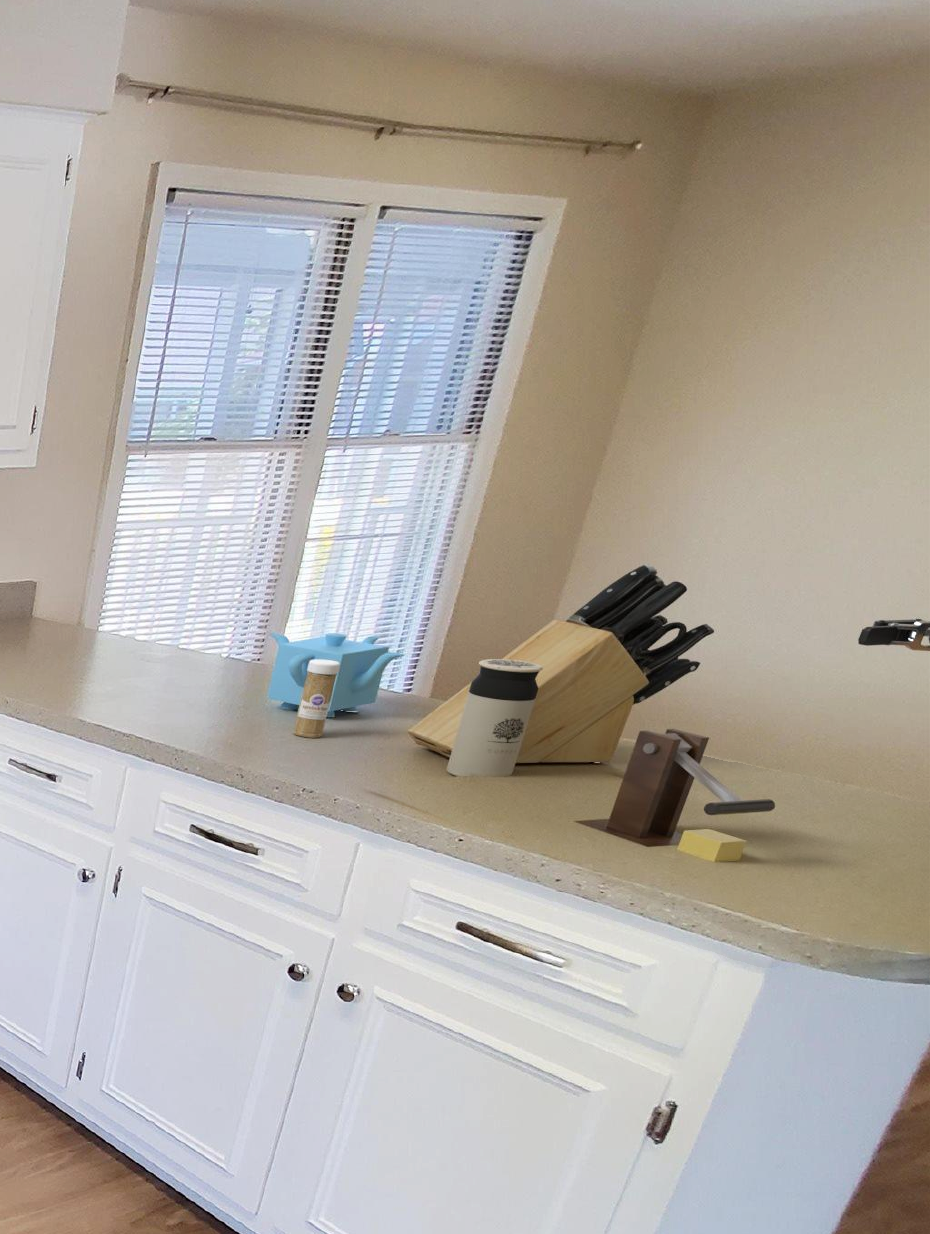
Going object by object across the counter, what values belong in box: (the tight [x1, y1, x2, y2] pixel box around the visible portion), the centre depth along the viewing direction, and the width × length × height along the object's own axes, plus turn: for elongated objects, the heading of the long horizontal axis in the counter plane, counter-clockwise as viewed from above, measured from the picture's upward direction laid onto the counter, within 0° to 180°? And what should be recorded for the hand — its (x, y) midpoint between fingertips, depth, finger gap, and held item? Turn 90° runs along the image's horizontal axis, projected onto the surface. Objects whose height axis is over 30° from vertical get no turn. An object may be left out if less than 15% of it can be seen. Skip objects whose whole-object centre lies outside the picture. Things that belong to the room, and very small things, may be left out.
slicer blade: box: [661, 733, 776, 816], centre depth 142 cm, size 13×8×2 cm, turn 7°
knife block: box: [407, 563, 715, 764], centre depth 180 cm, size 11×35×31 cm, turn 88°
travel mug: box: [446, 658, 543, 778], centre depth 173 cm, size 8×8×18 cm
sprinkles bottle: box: [292, 659, 340, 739], centre depth 197 cm, size 5×5×13 cm
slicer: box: [573, 728, 710, 848], centre depth 147 cm, size 10×9×15 cm
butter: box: [677, 828, 748, 863], centre depth 141 cm, size 7×7×4 cm
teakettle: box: [266, 632, 406, 717], centre depth 213 cm, size 19×19×15 cm
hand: (908, 642), depth 132 cm, fingers open, 8 cm apart
